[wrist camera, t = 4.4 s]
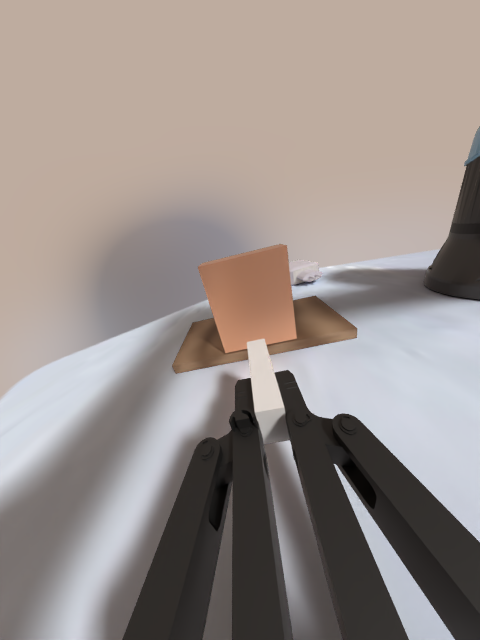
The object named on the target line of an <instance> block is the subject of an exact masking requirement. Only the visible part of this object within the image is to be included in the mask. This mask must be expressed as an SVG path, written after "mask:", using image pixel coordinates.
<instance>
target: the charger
mask: <svg viewBox="0 0 480 640" xmlns="http://www.w3.org/2000/svg"><path fill="white" fill-rule="evenodd" d="M289 270H290V279H291V285H296V284H300V283H303V282H306V281H307V282H310V281H314V280H317V279H318V278H319V277H321V275H322V274H323V273H322V272H319V263H317V262H312V261H305V260H295V261H292V262H289Z"/></svg>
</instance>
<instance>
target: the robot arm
mask: <svg viewBox="0 0 480 640" xmlns="http://www.w3.org/2000/svg"><path fill="white" fill-rule="evenodd" d="M464 166H467V167H466V171H465V175H464V179H463V182H462V186H461V190H460V194H459V198H458V202H457V206H456V209H455V213H454V217H453V221H452V225H451V229H450V233H449V236H448V238H447V240H446V242H445V243H444V245H443V246H442V248H441V249H440V251H439V253H438V254H437V256H436V258H435V259H434V261H433V263H432V265H431V266H429V267H428V269H427V271H426V274H425V279H424V285H425V286H426V287H427V288H429V289H431V290H433V291H436V292H439V293H443V294H447V295H451V296H457V297H463V298H470V299H480V127H479V128H478V130H477V132H476V134H475V137H474V140H473V143H472V147H471V150H470V153H469V156H468V160H467V161H465V164H464ZM247 350H248V358H249V367H250V375H251V378H247V379H242V380H238V381H237V384H236V386H235V411H234V412H233V413H232V415H231V416H230V419H229V423H230V426H231V428H232V430H231V431H230V432H229V433H228V434H227V435H225V436H223V437H222V438H220V439H218V440H216V439H215V438H212V437H210V438H206V439H204V440H202V441H201V442H200V443H199V444H198V445H197V447H196V449H195V451H194V454H193V456H192V459H191V462H190V464H189V467H188V469H187V472H186V475H185V477H184V480H183V482H182V485H181V488H180V490H179V493H178V496H177V498H176V501H175V503H174V506H173V509H172V511H171V514H170V517H169V519H168V522H167V524H166V527H165V530H164V532H163V535H162V537H161V540H160V543H159V545H158V548H157V551H156V553H155V556H154V558H153V561H152V564H151V566H150V569H149V571H148V574H147V577H146V579H145V582H144V585H143V587H142V590H141V592H140V595H139V598H138V600H137V603H136V606H135V608H134V611H133V613H132V616H131V619H130V621H129V624H128V626H127V629H126V632H125V634H124V637H123V640H202V637H203V632H204V627H205V622H206V617H207V611H208V606H209V601H210V596H211V590H212V585H213V580H214V575H215V570H216V564H217V559H218V554H219V549H220V543H221V538H222V533H223V528H224V523H225V517H226V512H227V507H228V502H229V496H230V491H231V486H232V481H233V551H232V640H293V635H292V629H291V622H290V615H289V608H288V601H287V595H286V588H285V581H284V574H283V567H282V560H281V554H280V547H279V540H278V533H277V526H276V520H275V513H274V506H273V499H272V492H271V486H270V479H269V472H268V465H267V458H266V454H265V450H264V444H269V443H275V442H281V441H287V440H290V442H291V445H292V451H293V456H294V460H295V462H296V466H297V470H298V474H299V477H300V481H301V485H302V489H303V492H304V496H305V500H306V504H307V507H308V511H309V515H310V519H311V522H312V526H313V530H314V534H315V537H316V541H317V545H318V549H319V552H320V556H321V560H322V564H323V567H324V571H325V575H326V579H327V582H328V586H329V590H330V594H331V597H332V601H333V605H334V609H335V612H336V616H337V620H338V624H339V628H340V631H341V635H342V639H343V640H409V639H408V636H407V634H406V632H405V629H404V627H403V625H402V622H401V620H400V618H399V615H398V613H397V611H396V608H395V606H394V604H393V601H392V599H391V597H390V594H389V592H388V590H387V587H386V585H385V583H384V581H383V578H382V576H381V574H380V571H379V569H378V567H377V564H376V562H375V560H374V557H373V555H372V553H371V550H370V548H369V546H368V543H367V541H366V539H365V536H364V534H363V532H362V529H361V527H360V525H359V522H358V520H357V518H356V515H355V513H354V511H353V508H352V506H351V504H350V501H349V499H348V497H347V494H346V492H345V490H344V487H343V485H342V483H341V480H340V478H339V476H338V473H337V471H336V469H335V466H334V464H336V465H337V466H338V468H339V469H340V471H341V472H342V474H343V475H344V476H345V478H346V479H347V481H348V482H349V484H350V485H351V487H352V488H353V490H354V491H355V493H356V494H357V496H358V497H359V499H360V500H361V502H362V503H363V504H364V506H365V507H366V509H367V510H368V512H369V513H370V515H371V516H372V518H373V519H374V521H375V522H376V524H377V525H378V527H379V528H380V530H381V531H382V532H383V534H384V535H385V537H386V538H387V540H388V541H389V543H390V544H391V546H392V547H393V549H394V550H395V552H396V553H397V555H398V556H399V558H400V559H401V560H402V562H403V563H404V565H405V566H406V568H407V569H408V571H409V572H410V574H411V575H412V577H413V578H414V580H415V581H416V583H417V584H418V585H419V587H420V588H421V590H422V591H423V593H424V594H425V596H426V597H427V599H428V600H429V602H430V603H431V605H432V606H433V608H434V609H435V611H436V612H437V613H438V615H439V616H440V618H441V619H442V621H443V622H444V624H445V625H446V627H447V628H448V630H449V631H450V633H451V634H452V636H453V637H454V639H455V640H480V542H479V541H478V540H477V539H476V538H475V537H474V536H473V535H472V534H471V533H470V532H469V531H468V530H467V529H466V528H465V527H464V526H463V525H462V524H461V523H460V522H459V521H458V520H457V519H456V518H455V517H454V516H453V515H452V514H451V513H450V512H449V511H448V510H447V509H446V508H445V507H444V506H443V505H442V504H441V503H440V502H439V501H438V500H437V499H436V498H435V497H434V496H433V495H432V493H431V492H430V491H429V490H428V489H427V488H426V487H425V486H424V485H423V484H422V483H421V482H420V481H419V480H418V479H417V478H416V477H415V476H414V475H413V474H412V473H411V472H410V471H409V470H408V469H407V468H406V467H405V466H404V465H403V464H402V463H401V462H400V461H399V460H398V459H397V458H396V457H395V456H394V455H393V454H392V453H391V452H390V451H389V450H388V449H387V448H386V447H385V446H384V445H383V444H382V443H381V442H380V441H379V440H378V439H377V438H376V437H375V436H374V435H373V433H372V432H371V431H370V430H369V429H368V428H367V427H366V426H365V425H364V424H363V423H362V422H361V421H360V420H358V419H357V418H356V417H354V416H352V415H349V414H338V415H336V416H335V417H334V418H333V419H328V418H322V417H318V416H316V415H314V414H313V413H311V412H310V411H309V410H308V408H307V406H306V404H305V401H304V399H303V397H302V394H301V392H300V390H299V387H298V385H297V382H296V380H295V378H294V375H293V374H292V373H291V372H290V371H289V370H286V371H281V372H276V373H274V370H273V366H272V363H271V359H270V356H269V353H268V349H267V346H266V342H265V339H259V340H254V341H250V342H247Z"/></svg>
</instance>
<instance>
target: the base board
mask: <svg viewBox="0 0 480 640" xmlns="http://www.w3.org/2000/svg"><path fill="white" fill-rule="evenodd" d="M293 307H294V317H295V326H296V335H297V339H293V340H288V341H283V342H278V343H273V344H268V345H266V346H267V349H268V353H269V355H272V354H277V353H282V352H287V351H292V350H297V349H302V348H308V347H313V346H318V345H323V344H328V343H333V342H338V341H343V340H348V339H353V338H357V328H356V327H355V326H354V325H352V324H351V323H350V322H348V321H347V320H346V319H345V318H343V317H342V316H341V315H339V314H338V313H337V312H336V311H334V310H333V309H332V308H330V307H329V306H328V305H327V304H325V303H324V302H323V301H321V300H320V299H319V298H318V297H316V296H312V297H307V298H303V299H298V300H293ZM247 359H249V358H248V350H247V349H243V350H238V351H234V352H229V353H225V350H224V347H223V344H222V341H221V338H220V335H219V332H218V329H217V325H216V322H215V319H214V318H211V319H207V320H202V321H198V322H193V323H192V325H191V327H190V329H189V332H188V334H187V336H186V338H185V340H184V342H183V344H182V346H181V348H180V350H179V352H178V354H177V357H176V359H175V361H174V363H173V365H172V367H173V369H174V371H175V373H176V374H177V373H182V372H187V371H192V370H197V369H202V368H207V367H212V366H217V365H222V364H227V363H232V362H237V361H242V360H247Z"/></svg>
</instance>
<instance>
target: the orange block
mask: <svg viewBox="0 0 480 640" xmlns="http://www.w3.org/2000/svg"><path fill="white" fill-rule="evenodd" d="M198 269H199V273H200V276H201V279H202V282H203V285H204V288H205V291H206V294H207V297H208V301H209V304H210V307H211V310H212V313H213V316H214V319H215V322H216V325H217V329H218V332H219V335H220V338H221V341H222V344H223V347H224V350H225V353H229V352H234V351H238V350H243V349H247V342H250V341H254V340H259V339H265V342H266V345H268V344H273V343H278V342H283V341H288V340H293V339H297V335H296V326H295V317H294V307H293V298H292V289H291V279H290V270H289V261H288V252H287V245H283V244H279V245H274V246H270V247H266V248H262V249H258V250H254V251H250V252H246V253H242V254H238V255H234V256H230V257H225V258H221V259H218V260H213V261H209V262H205V263H202V264H201V265H200V266H198Z"/></svg>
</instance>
